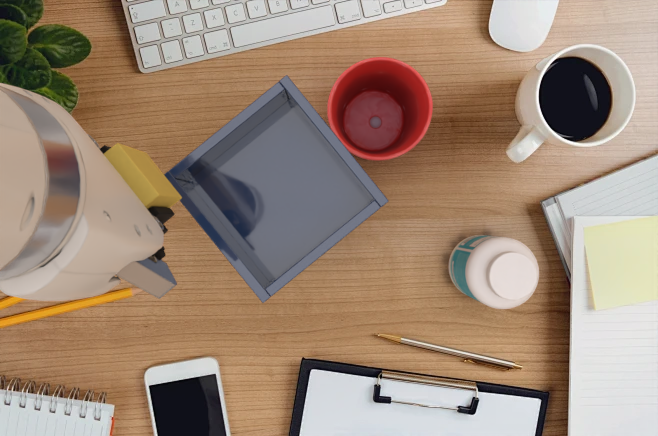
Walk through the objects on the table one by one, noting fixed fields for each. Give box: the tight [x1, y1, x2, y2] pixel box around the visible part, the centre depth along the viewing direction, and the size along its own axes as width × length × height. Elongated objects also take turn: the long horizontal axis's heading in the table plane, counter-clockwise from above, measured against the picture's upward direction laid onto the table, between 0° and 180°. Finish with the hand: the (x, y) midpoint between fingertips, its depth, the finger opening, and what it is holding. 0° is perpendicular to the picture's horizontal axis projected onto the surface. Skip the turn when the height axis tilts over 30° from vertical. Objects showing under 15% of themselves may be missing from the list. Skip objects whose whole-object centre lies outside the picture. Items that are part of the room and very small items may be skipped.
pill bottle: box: [448, 234, 540, 310], centre depth 66 cm, size 8×7×14 cm
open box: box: [163, 74, 390, 304], centre depth 50 cm, size 13×13×5 cm
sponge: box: [104, 142, 182, 209], centre depth 39 cm, size 4×5×6 cm
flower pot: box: [326, 56, 434, 162], centre depth 67 cm, size 11×11×10 cm
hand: (131, 197), depth 41 cm, fingers closed on sponge, 4 cm apart
